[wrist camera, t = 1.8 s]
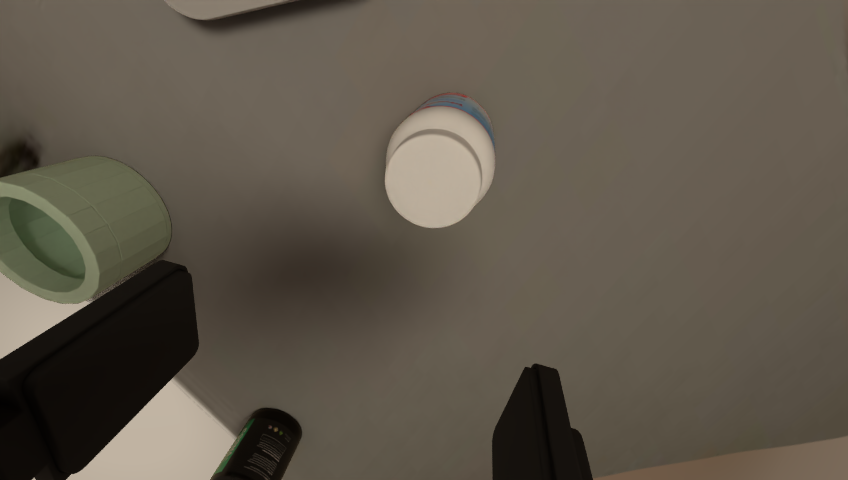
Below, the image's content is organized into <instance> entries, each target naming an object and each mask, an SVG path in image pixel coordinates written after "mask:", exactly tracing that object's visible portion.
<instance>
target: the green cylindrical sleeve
mask: <svg viewBox="0 0 848 480" xmlns="http://www.w3.org/2000/svg"><path fill="white" fill-rule="evenodd" d="M171 232H172V229H171V221H170V217H169V214H168V211H167V209H166V207H165V205H164V203H163V201H162V199H161V198H160V196H159V195H158V193H157V192H156V191H155V189H154V188H153V187H152V186H151V185H150V184H149V183H148V182H147V181H146V180H145V179H144V178H143V177H142V176H141V175H140V174H138V173H137V172H136V171H134V170H133V169H131V168H130V167H128V166H126V165H125V164H123V163H121V162H118V161H116V160H113V159H110V158H107V157H102V156H87V157H83V158H76V159H72V160H68V161H64V162H60V163H56V164H53V165H49V166H45V167H41V168H37V169H33V170H29V171H25V172H21V173H18V174H14V175H10V176H6V177H2V178H0V272H1V273H2V274H3V275H5V276H6V277H7V278H9V279H10V280H12V281H13V282H14V283H16V284H17V285H19V286H20V287H21V288H23V289H25V290H27V291H29V292H31V293H33V294H35V295H37V296H39V297H41V298H44V299H46V300H50V301H54V302H57V303H62V304H67V303H68V304H69V303H70V304H71V303H73V304H76V303H81V302H83V301H86V300H88V299H90V298H92V297H94V296H95V295H97V294H98V293H100V292H102V291H103V290H105V289H106V288H108V287H110V286H111V285H113V284H115V283H116V282H118V281H119V280H121V279H123V278H124V277H126V276H127V275H129V274H131V273H132V272H134V271H135V270H137V269H139V268H140V267H142V266H143V265H145V264H147V263H148V262H150V261H151V260H153V259H155V258H156V257H157V256H158V255H160V254H161V253H162V252H164V251H165V249H166V248H167V247H168V245H169V242H170V239H171Z"/></svg>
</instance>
